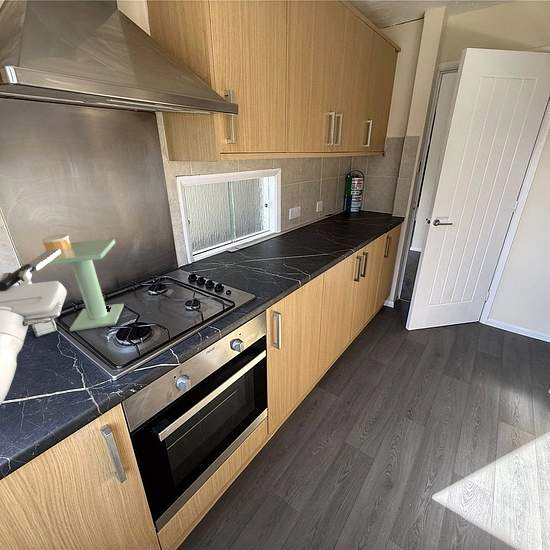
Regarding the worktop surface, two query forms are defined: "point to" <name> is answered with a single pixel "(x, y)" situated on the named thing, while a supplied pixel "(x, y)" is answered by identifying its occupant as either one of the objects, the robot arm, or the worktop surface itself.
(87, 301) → the cake stand
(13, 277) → the cake knife
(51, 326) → the syrup box
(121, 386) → the worktop surface
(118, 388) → the worktop surface
